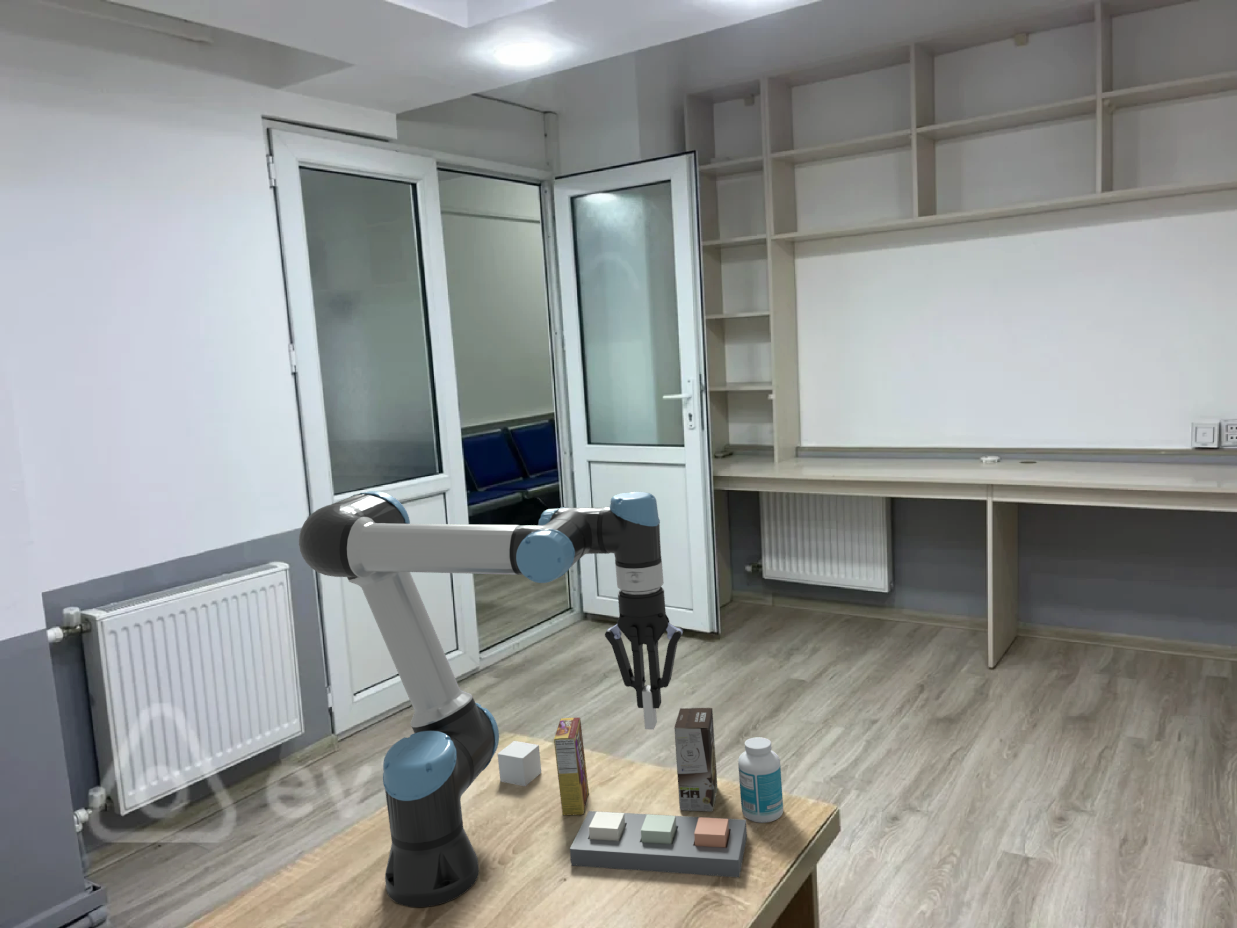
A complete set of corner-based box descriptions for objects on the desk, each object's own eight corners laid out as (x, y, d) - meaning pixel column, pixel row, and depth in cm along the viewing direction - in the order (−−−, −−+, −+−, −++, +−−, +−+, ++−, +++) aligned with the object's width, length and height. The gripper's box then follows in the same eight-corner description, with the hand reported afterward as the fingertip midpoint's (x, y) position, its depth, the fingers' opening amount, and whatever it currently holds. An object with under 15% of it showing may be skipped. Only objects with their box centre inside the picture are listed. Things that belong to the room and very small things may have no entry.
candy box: (566, 791, 178) (560, 717, 175) (589, 791, 177) (582, 716, 175) (560, 816, 169) (553, 738, 167) (583, 815, 168) (576, 737, 166)
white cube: (525, 786, 181) (522, 758, 180) (500, 781, 184) (497, 753, 183) (541, 772, 186) (538, 744, 185) (516, 767, 189) (514, 740, 188)
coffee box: (714, 812, 166) (708, 728, 164) (678, 810, 168) (672, 727, 165) (718, 786, 175) (713, 706, 173) (685, 785, 176) (679, 706, 174)
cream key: (590, 845, 156) (588, 827, 155) (597, 828, 160) (596, 811, 160) (618, 846, 154) (617, 828, 154) (625, 830, 159) (624, 813, 159)
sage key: (642, 848, 153) (640, 830, 153) (648, 832, 158) (646, 814, 158) (671, 850, 152) (670, 831, 152) (676, 833, 157) (675, 815, 157)
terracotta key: (695, 851, 151) (694, 833, 151) (700, 835, 156) (698, 817, 156) (725, 853, 150) (724, 835, 150) (729, 836, 155) (728, 818, 154)
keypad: (571, 865, 153) (569, 848, 153) (590, 826, 165) (588, 810, 164) (739, 877, 146) (738, 859, 146) (746, 835, 158) (745, 819, 157)
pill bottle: (785, 804, 167) (781, 734, 165) (781, 826, 160) (777, 753, 158) (744, 801, 169) (740, 732, 167) (738, 822, 162) (734, 751, 160)
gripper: (595, 595, 147) (607, 734, 150) (676, 594, 143) (686, 737, 147) (607, 581, 154) (618, 714, 157) (684, 581, 151) (693, 717, 154)
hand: (650, 725), depth 152 cm, fingers closed
